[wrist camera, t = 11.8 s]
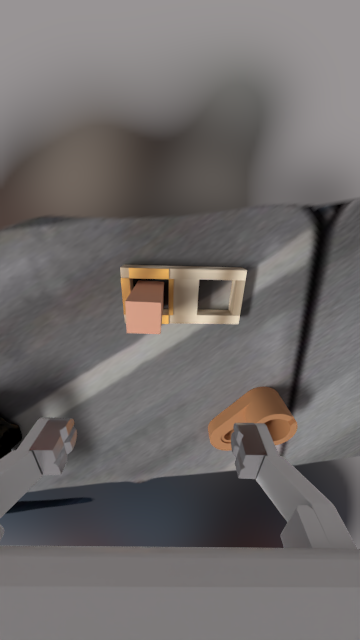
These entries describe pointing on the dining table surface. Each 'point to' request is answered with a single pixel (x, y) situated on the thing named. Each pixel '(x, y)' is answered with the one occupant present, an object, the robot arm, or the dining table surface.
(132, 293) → the terracotta peg
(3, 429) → the pottery vessel
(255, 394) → the bracket
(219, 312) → the peg board
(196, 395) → the dining table surface
